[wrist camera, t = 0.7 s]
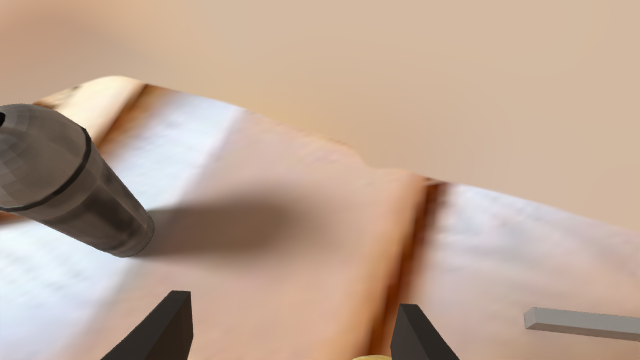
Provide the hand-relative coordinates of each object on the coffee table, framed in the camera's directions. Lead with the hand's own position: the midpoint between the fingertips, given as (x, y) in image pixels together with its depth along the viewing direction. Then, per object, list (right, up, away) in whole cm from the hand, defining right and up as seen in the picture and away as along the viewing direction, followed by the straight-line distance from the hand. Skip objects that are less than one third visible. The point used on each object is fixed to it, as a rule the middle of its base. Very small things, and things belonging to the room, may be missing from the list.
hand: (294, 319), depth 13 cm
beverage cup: (-16, 0, +22) cm, 28 cm away
